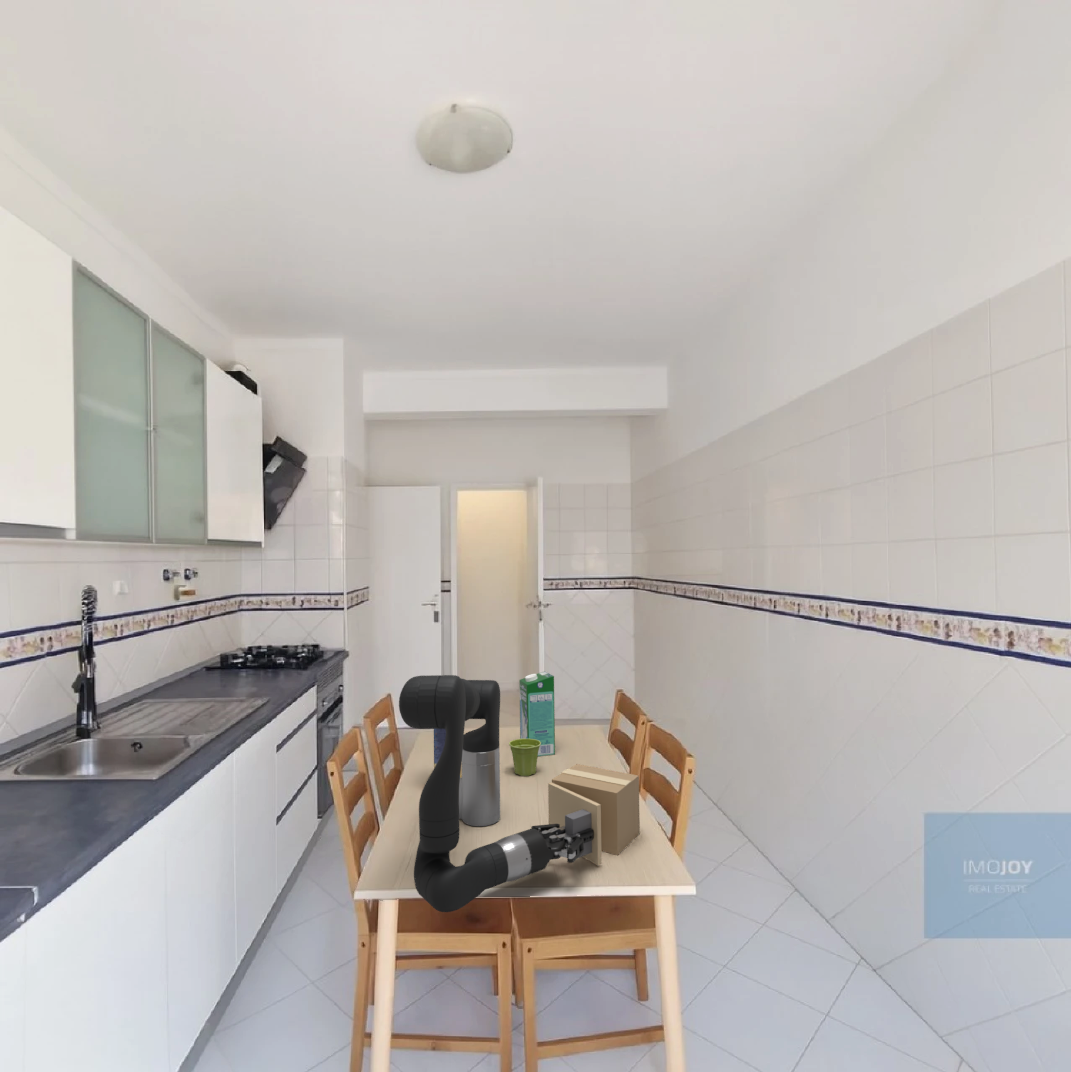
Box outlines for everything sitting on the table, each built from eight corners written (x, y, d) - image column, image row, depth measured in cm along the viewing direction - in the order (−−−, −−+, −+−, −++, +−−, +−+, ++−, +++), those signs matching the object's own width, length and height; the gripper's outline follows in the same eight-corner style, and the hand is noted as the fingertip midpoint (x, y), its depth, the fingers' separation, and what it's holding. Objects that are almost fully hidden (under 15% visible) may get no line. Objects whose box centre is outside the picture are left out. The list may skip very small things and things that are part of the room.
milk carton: (520, 749, 204) (519, 672, 205) (546, 746, 207) (545, 670, 207) (528, 757, 195) (527, 677, 196) (555, 754, 198) (554, 675, 199)
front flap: (531, 844, 136) (530, 788, 136) (552, 836, 140) (551, 782, 140) (579, 873, 123) (578, 812, 124) (601, 864, 127) (600, 804, 127)
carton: (552, 837, 140) (551, 778, 140) (577, 818, 150) (576, 763, 151) (617, 855, 131) (617, 792, 132) (639, 833, 142) (638, 774, 142)
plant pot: (508, 767, 186) (508, 738, 186) (540, 766, 187) (539, 737, 187) (509, 779, 177) (509, 748, 177) (542, 777, 178) (542, 747, 178)
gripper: (539, 849, 113) (610, 824, 123) (498, 823, 124) (566, 801, 135) (540, 891, 113) (610, 862, 123) (498, 861, 124) (566, 836, 134)
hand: (587, 830), depth 129 cm, fingers closed on front flap, 2 cm apart
